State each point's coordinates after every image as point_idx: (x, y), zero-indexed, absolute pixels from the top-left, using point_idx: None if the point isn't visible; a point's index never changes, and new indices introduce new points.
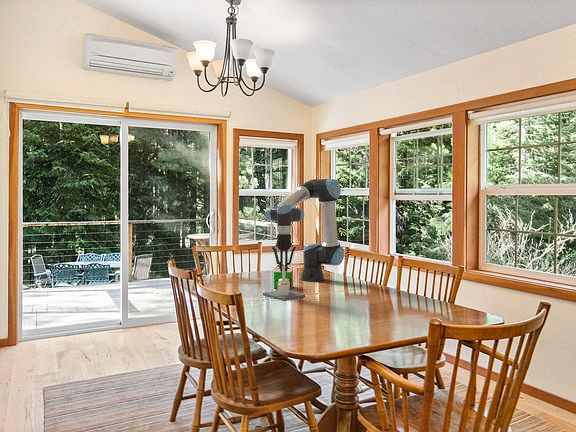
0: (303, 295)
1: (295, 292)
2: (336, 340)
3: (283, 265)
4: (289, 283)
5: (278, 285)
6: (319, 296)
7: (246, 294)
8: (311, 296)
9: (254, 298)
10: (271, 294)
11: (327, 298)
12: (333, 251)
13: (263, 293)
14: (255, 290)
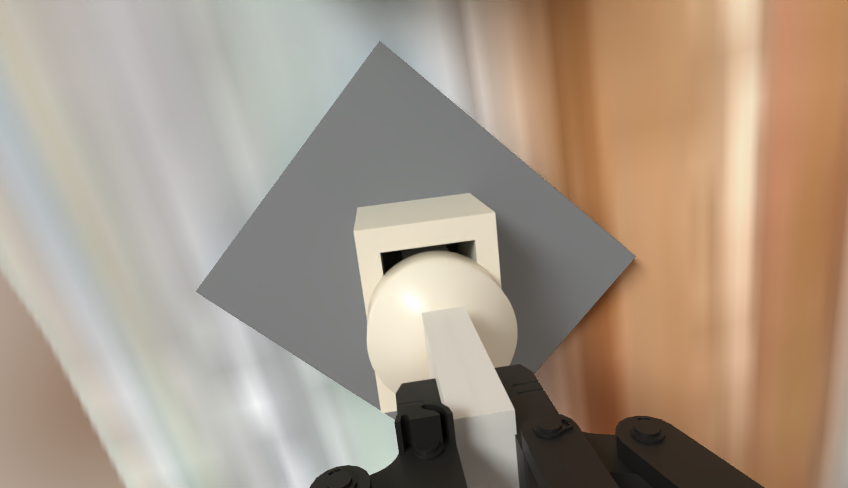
0: (620, 269)
1: (533, 182)
2: None
3: (476, 462)
4: (491, 211)
5: (390, 407)
6: (758, 203)
7: (13, 286)
8: (685, 221)
9: (176, 433)
10: (309, 338)
11: (822, 270)
12: None
13: (206, 296)
14: (9, 38)
